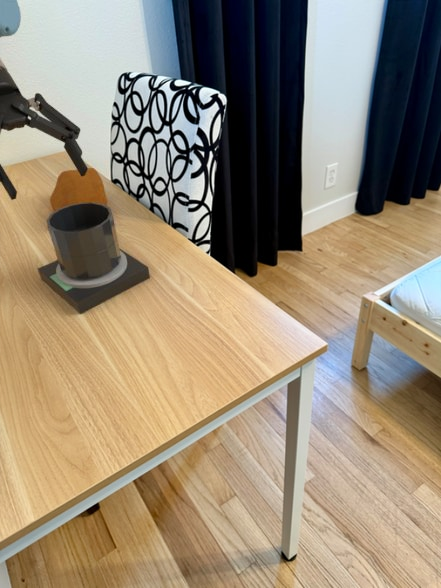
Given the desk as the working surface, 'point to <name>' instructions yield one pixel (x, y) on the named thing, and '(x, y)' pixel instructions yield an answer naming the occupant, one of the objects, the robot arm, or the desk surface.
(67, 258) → the cup
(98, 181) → the bread
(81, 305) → the scale
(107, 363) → the desk surface
